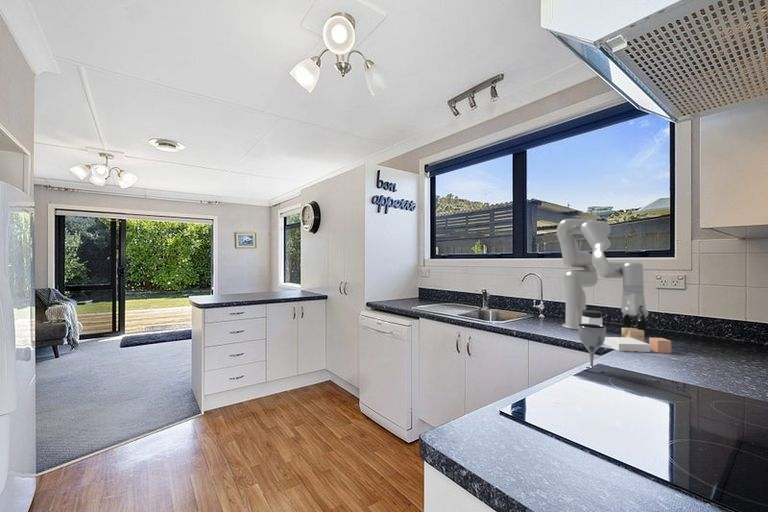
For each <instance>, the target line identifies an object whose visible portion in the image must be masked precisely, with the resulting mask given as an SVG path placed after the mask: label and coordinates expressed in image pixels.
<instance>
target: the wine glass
mask: <svg viewBox="0 0 768 512" xmlns="http://www.w3.org/2000/svg"><path fill="white" fill-rule="evenodd" d="M606 334H607V327H606V326H605V325H603V324H602V325H597V324H578V338H579V340H580V342H581V344H582V345H583V346H584V347H585V348H586V349H587V351H588V354H589V359H590V361H589V362H590V365H589V366H588V367H586V368H590V369H596V368H597V367H595V366H594V357H595V353H596V352H597V351H598V349H600V348H601V347H602V346H603V345H604V344H603V343H604V341H605V337H607V336H606Z"/></svg>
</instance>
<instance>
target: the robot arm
mask: <svg viewBox="0 0 768 512" xmlns="http://www.w3.org/2000/svg"><path fill="white" fill-rule="evenodd" d="M611 230H612V229H611V225H610V224H609V223H608V222H607V221H605V220H595V219H587V218H565V219H563V220H561V221H559V223H558V225H557V228H556V237H557V239H558V242H559V247H560V249H561V250H560V251H561V256H562V262H563V264H564V266H565V267H567V268H570V270H568V271H566V272H565V273H564V275H563V283H564V290H565V319H564V321H565V323H562V328H565V329H570V330H578V324H582V311H583V310H587V307H586V306H587V300H586V299H587V298H586V297H587V296H586V292H585V290H584V289H583V288H591V287H594V286H596V285H597V284H598V279H599V278H598V275H600V276H601V278H605V279H622V290H623V291H622V294H621V295H622V296H621V307H620V310H621V313H622V319H623V320H622V321H623V326H624V327H632V317H633V316H636V319H637V323H636V325H637V326H636V327H637V329H638V330H643V331H646V330H647V321H648V317H649V311H648V310H647V309H646V308H647V307H646V299H645V289H644V286H645V284H644V265H643V264H642V263H641V262H615V261H613V262H609V260H608V259H607V257H606V255H605V253H604V251H606V250H608V249H609V248H610V247H611V245H612V242H611V240H610V239H609V238H608V236H609V235H610V234H611ZM573 235H583V237H584V238H585V240H586V241H587V244H588V245H589V246H590V248H591V249H592V252H589V251H585V250H580V249H579V244H578V241H577V240H576V238H575V236H573ZM571 269H572V270H571ZM631 316H632V317H631Z"/></svg>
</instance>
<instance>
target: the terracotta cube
mask: <svg viewBox="0 0 768 512" xmlns="http://www.w3.org/2000/svg"><path fill="white" fill-rule="evenodd" d="M648 344H650V351H651V352H655V353H657V352H659V353H658V354H672V340H669V339H667V338H663V337H648ZM660 352H661V353H660Z"/></svg>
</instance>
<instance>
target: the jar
mask: <svg viewBox="0 0 768 512" xmlns="http://www.w3.org/2000/svg"><path fill="white" fill-rule="evenodd" d="M582 324H597V325H602V326H603V312H602V311H599V310H593V309H589V310H588V309H586V310H583V311H582Z"/></svg>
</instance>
